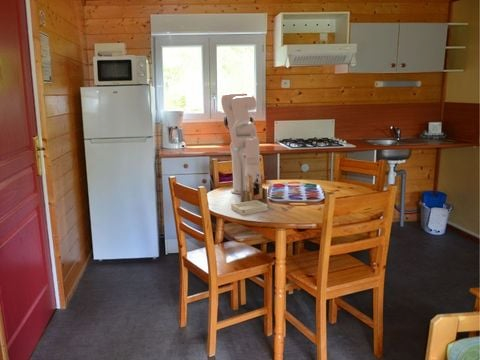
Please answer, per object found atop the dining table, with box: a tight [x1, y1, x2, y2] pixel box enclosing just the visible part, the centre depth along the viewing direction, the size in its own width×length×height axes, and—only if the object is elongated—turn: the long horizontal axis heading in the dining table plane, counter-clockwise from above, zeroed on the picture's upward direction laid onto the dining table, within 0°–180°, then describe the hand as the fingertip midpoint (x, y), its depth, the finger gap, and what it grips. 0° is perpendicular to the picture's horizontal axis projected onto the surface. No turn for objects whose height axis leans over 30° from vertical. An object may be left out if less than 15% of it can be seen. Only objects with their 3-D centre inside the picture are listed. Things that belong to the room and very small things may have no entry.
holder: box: [240, 186, 268, 203], centre depth 236 cm, size 7×13×7 cm, turn 117°
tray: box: [230, 200, 270, 216], centre depth 223 cm, size 13×15×3 cm
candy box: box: [245, 173, 263, 201], centre depth 236 cm, size 9×4×15 cm, turn 125°
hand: (253, 193), depth 236 cm, fingers closed on candy box, 4 cm apart
